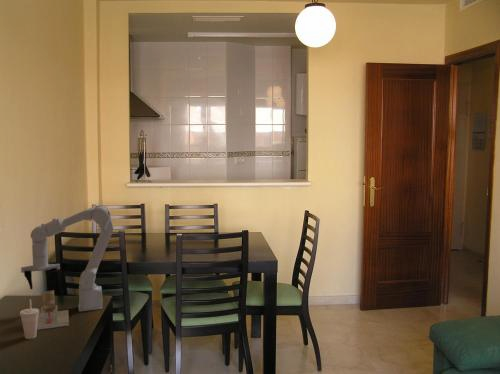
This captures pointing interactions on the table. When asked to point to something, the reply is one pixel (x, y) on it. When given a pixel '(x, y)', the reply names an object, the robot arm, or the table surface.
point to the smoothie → (30, 321)
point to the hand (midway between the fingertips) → (41, 287)
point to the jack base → (52, 318)
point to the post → (48, 300)
